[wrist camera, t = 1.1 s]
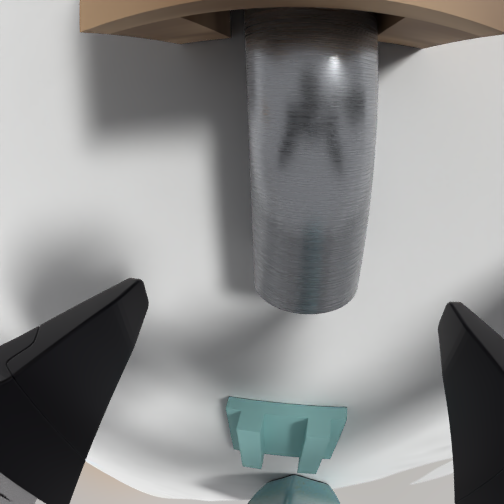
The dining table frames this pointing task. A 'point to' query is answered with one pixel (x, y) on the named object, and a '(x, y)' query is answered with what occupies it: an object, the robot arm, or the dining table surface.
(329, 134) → the axle
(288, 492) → the flower pot
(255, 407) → the cradle
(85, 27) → the brown block
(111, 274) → the dining table surface
